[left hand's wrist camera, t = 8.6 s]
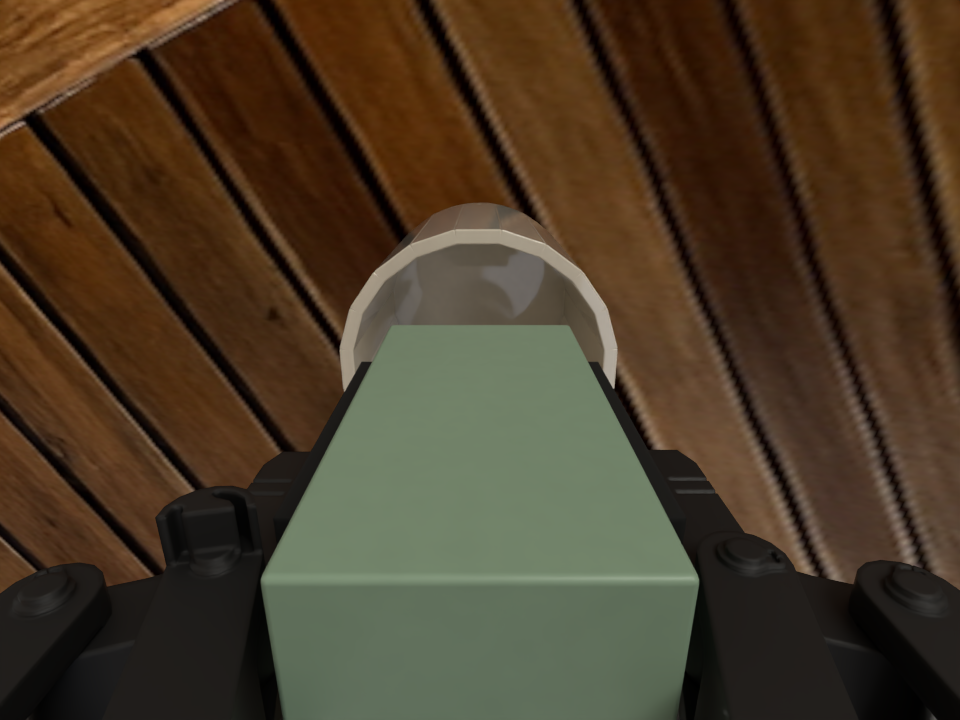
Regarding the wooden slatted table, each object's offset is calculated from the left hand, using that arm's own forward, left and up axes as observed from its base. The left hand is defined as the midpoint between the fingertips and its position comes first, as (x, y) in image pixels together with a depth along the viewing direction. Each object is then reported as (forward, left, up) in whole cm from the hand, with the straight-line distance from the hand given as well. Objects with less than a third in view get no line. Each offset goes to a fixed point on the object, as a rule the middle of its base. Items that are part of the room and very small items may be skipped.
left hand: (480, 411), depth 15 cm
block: (0, 0, 0) cm, 0 cm away
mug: (-4, +2, -17) cm, 17 cm away
